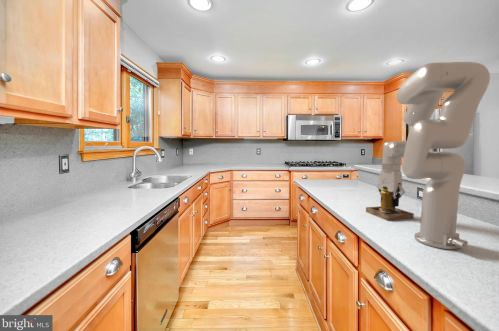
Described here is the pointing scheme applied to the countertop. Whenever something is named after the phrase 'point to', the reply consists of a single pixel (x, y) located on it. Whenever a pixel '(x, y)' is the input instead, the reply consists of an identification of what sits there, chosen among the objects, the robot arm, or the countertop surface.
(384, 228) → the countertop surface
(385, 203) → the condiment
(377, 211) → the walnut tray
